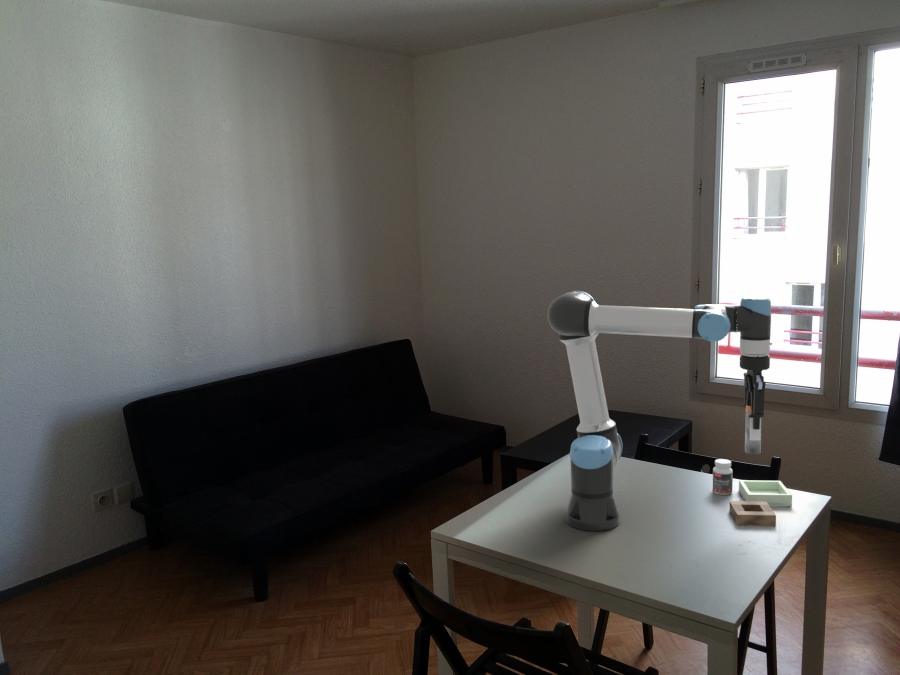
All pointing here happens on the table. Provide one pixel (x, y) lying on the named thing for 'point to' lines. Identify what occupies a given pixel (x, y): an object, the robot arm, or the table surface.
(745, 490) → the tray
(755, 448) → the pin
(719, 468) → the pill bottle
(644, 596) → the table surface
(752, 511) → the socket
